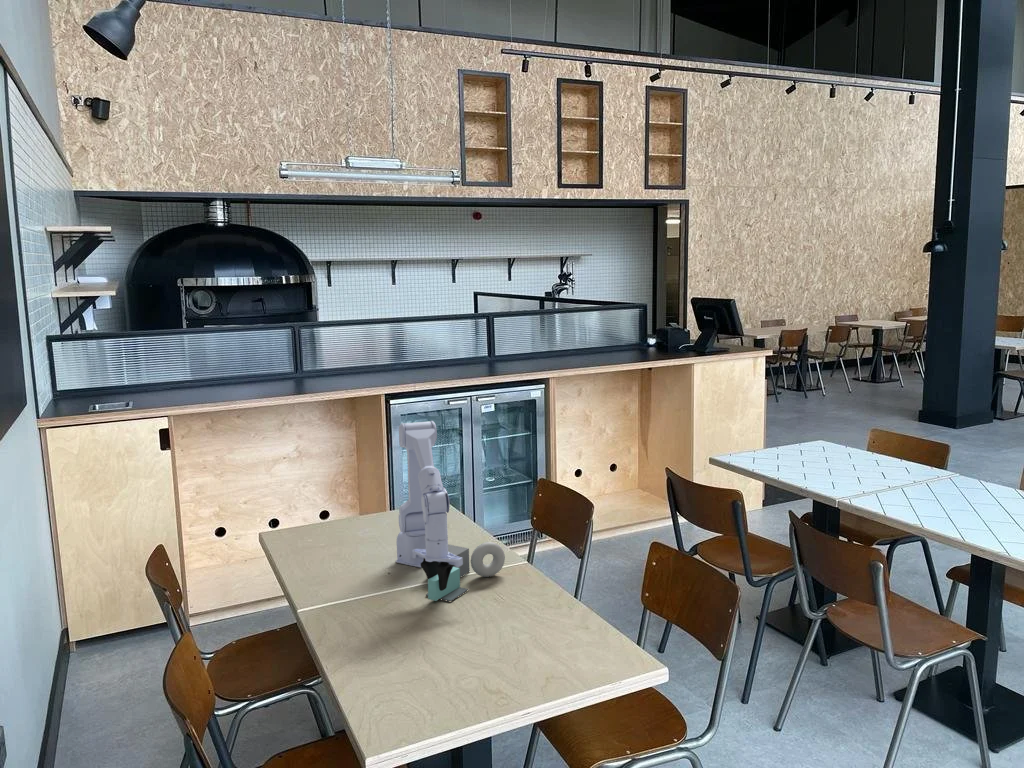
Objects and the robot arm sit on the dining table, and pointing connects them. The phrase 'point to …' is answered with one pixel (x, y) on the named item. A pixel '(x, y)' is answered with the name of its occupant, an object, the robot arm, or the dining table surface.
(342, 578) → the dining table surface
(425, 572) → the robot arm
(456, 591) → the coaster
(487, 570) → the donut
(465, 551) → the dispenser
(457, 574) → the tall teal prism
